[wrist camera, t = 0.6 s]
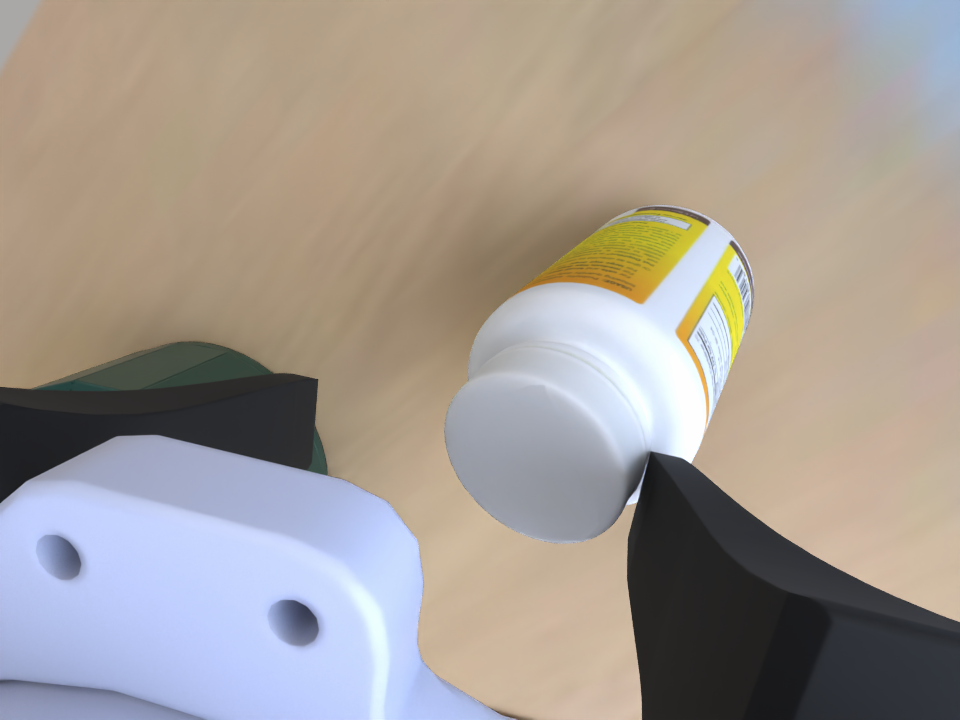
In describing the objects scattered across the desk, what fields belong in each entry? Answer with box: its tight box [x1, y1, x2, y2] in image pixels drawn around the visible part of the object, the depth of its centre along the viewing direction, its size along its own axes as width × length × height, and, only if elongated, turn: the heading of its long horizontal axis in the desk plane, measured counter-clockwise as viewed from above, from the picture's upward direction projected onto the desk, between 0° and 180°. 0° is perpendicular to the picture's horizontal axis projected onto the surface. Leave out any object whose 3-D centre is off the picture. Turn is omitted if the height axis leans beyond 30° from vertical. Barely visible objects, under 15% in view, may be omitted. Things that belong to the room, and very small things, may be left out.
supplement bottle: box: [444, 205, 754, 544], centre depth 15 cm, size 6×6×10 cm
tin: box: [32, 342, 327, 476], centre depth 23 cm, size 11×11×6 cm
